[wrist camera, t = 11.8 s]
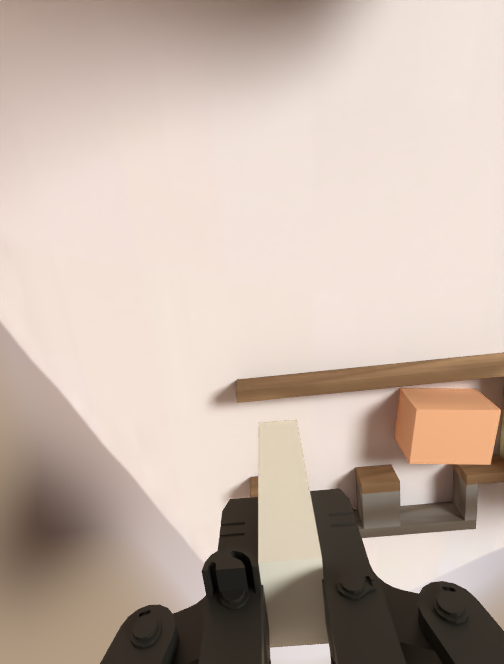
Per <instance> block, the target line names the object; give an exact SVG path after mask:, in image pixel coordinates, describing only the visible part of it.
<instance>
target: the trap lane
mask: <svg viewBox="0 0 504 664" xmlns="http://www.w3.org/2000/svg"><path fill="white" fill-rule="evenodd" d="M502 376H504V353H496V354H486V355H476V356H466V357H456V358H446V359H436V360H426V361H417V362H407V363H397V364H387V365H377V366H367V367H357V368H347V369H338V370H328V371H318V372H308V373H298V374H288V375H278V376H268V377H259V378H249V379H239V380H237V387H236V396H237V403H239V402H249V401H259V400H269V399H279V398H289V397H299V396H310V395H320V394H330V393H340V392H350V391H360V390H370V389H381V388H391V387H401V386H411V385H421V384H431V383H441V382H452V381H462V380H472V379H482V378H492V377H502ZM496 482H504V395H503V410H502V425H501V440H500V455H492V459H491V465H475V464H454V477H453V502H445V503H433V504H422V505H410V506H400V481H399V479H398V477H397V475H396V473H395V471H394V469H393V467H392V465H380V466H369V467H358V468H356V486H357V506H358V510H353V513H354V516H355V519H356V522H357V525H358V528H359V532H360V535H361V538H368V537H380V536H392V535H404V534H417V533H429V532H441V531H453V530H465V529H476V516H477V496H478V484H485V483H496ZM250 497H258V477H251V481H250Z"/></svg>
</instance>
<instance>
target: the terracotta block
mask: <svg viewBox="0 0 504 664" xmlns="http://www.w3.org/2000/svg"><path fill="white" fill-rule="evenodd" d="M500 414H501V410H500V409H499V408H498V407H497V406H496V405H494V404H493V403H492V402H491V401H490V400H489V399H487V398H486V397H485V396H484V395H483V394H481V393H480V392H479V391H478V390H477V389H453V388H400V393H399V402H398V410H397V419H396V427H395V436H394V438H395V440H396V441H397V443H398V445H399V447H400V448H401V450H402V452H403V453H404V455H405V457H406V459H407V460H408V462H409V464H475V465H491V459H492V454H493V449H494V444H495V439H496V434H497V429H498V424H499V419H500Z"/></svg>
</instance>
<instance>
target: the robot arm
mask: <svg viewBox="0 0 504 664" xmlns="http://www.w3.org/2000/svg"><path fill="white" fill-rule="evenodd" d="M202 574H203V580H204V585H205V591H206V596H205V597H204V598H203V599H202V600H201V601H199V602H198V603H197V604H195V605H193V606H191V607H189V608H187V609H184V610H181V611H179V612H177V613H174V614H172V613H171V611H170V610H169V609H168V608H166V607H164V606H161V605H148V606H145V607H143V608H140V609H138V610H137V611H135V612H134V613H133V614H131V615H130V616H129V617H128V618H127V619H126V621H125V622H124V623H123V625H122V626H121V627H120V629H119V631H118V633H117V634H116V636H115V638H114V640H113V642H112V643H111V645H110V647H109V649H108V650H107V652H106V654H105V656H104V658H103V660H102V661H101V663H100V664H271V661H270V647H283V646H296V645H311V644H324V643H325V644H326V643H329V647H330V654H331V664H504V631H503V630H502V629H501V627H500V626H499V625H498V624H497V622H496V621H495V620H494V619H493V618H492V617H491V615H490V614H489V613H488V612H487V611H486V610H485V608H484V607H483V606H482V605H481V604H480V602H479V601H478V600H477V599H476V598H475V597H474V596H473V595H472V594H471V593H469V592H468V591H467V590H466V589H464V588H462V587H460V586H458V585H456V584H453V583H448V582H444V581H440V582H431V583H430V584H428V585H426V586H424V587H423V588H422V590H421V592H420V593H419V594H418V593H413V592H408V591H404V590H400V589H397V588H394V587H392V586H390V585H388V584H386V583H384V582H383V581H382V580H381V579H380V578H378V577H377V575H376V574H375V573H374V572H373V570H372V568H371V566H370V564H369V560H368V557H367V554H366V551H365V548H364V544H363V541H362V538H361V535H360V532H359V528H358V525H357V522H356V519H355V516H354V513H353V509H352V506H351V503H350V500H349V498H348V497H347V496H346V495H345V494H344V493H343V492H342V491H341V490H340V489H330V490H319V491H310V489H309V484H308V478H307V473H306V467H305V462H304V456H303V451H302V445H301V440H300V434H299V429H298V423H297V419H295V420H284V421H274V422H264V423H258V497H251V498H240V499H230V500H229V502H228V503H227V505H226V506H225V508H224V510H223V511H222V519H221V528H220V538H219V545H218V551H217V552H215V553H214V554H212V555H211V556H210V557H209V558H208V559H207V561H206V562H205V564H204V567H203V569H202Z"/></svg>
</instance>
